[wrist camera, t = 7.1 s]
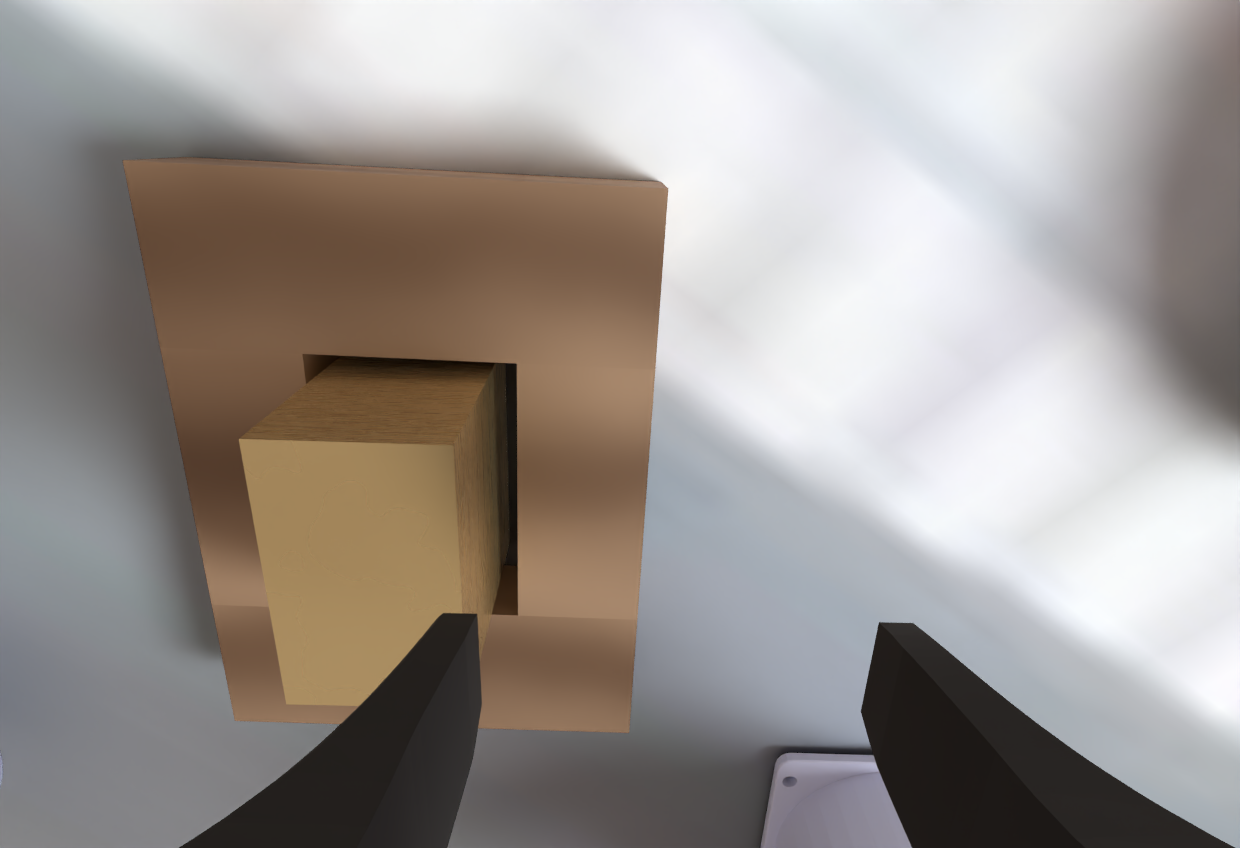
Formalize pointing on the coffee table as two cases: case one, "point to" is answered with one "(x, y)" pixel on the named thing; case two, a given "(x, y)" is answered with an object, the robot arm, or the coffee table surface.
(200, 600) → the coffee table surface
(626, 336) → the slot board
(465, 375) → the key peg
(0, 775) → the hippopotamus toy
